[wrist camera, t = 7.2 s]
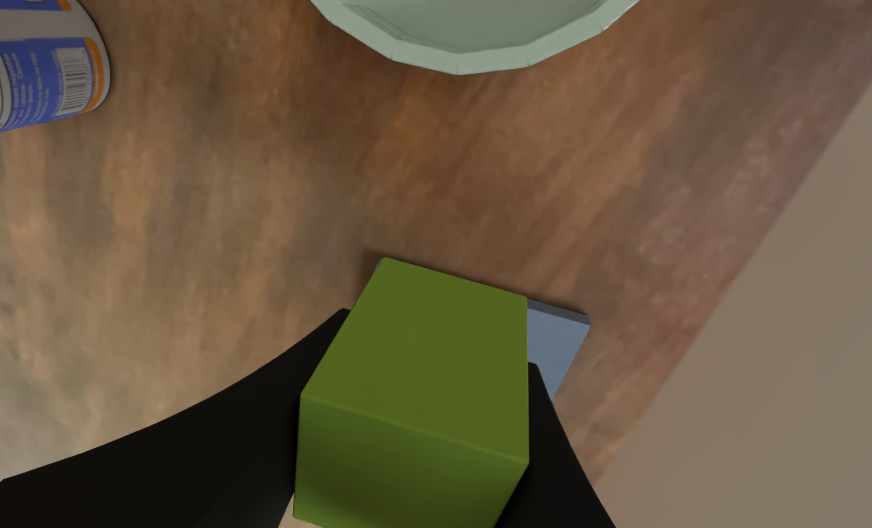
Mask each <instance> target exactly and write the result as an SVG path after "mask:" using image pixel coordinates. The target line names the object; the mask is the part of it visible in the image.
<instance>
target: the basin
mask: <svg viewBox="0 0 872 528" xmlns="http://www.w3.org/2000/svg"><path fill="white" fill-rule="evenodd" d="M310 1H311V2H312V3H313V4H314V5H315V6H316V8H317V9H318V10H319V11H320V12H321V13H322V14H323V16H324V17H325V18H326V19H327V20H328V21H330V22H331V23H332V24H334V25H335V26H337V27H338V28H340V29H342V30H343V31H345V32H346V33H348V34H350V35H351V36H353V37H354V38H356V39H358V40H359V41H361V42H362V43H364V44H366V45H367V46H369V47H370V48H372V49H373V50H375V51H377V52H378V53H380V54H381V55H383V56H385V57H386V58H388V59H391V60H393V61H396V62H401V63H405V64H409V65H414V66H418V67H422V68H427V69H431V70H435V71H440V72H444V73H448V74H453V75H466V74H475V73H483V72H492V71H500V70H509V69H517V68H526V67H528V66H532V65H534V64H536V63H538V62H540V61H543V60H545V59H547V58H549V57H551V56H553V55H555V54H557V53H560V52H562V51H564V50H566V49H568V48H570V47H572V46H575V45H577V44H579V43H581V42H583V41H585V40H587V39H590V38H592V37H594V36H596V35H598V34H600V33H601V31H604V30H606V29H607V28H608V27H609V26H610V25H612V24H613V23H614V22H615V21H616V20H617V19H619V18H620V17H621V16H622V15H623V14H624V13H625V12H627V11H628V10H629V9H630V8H631V7H632V6H633V5H635V4H636V3H637V2H638V1H639V0H310Z"/></svg>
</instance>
